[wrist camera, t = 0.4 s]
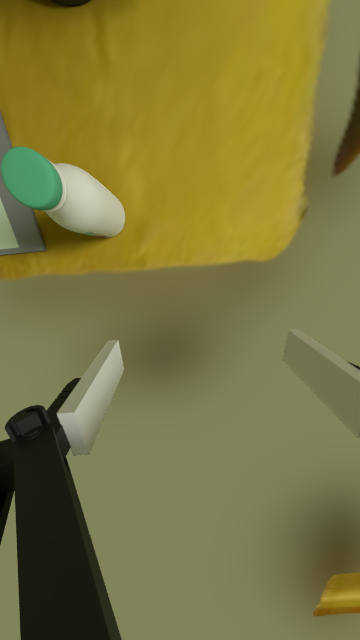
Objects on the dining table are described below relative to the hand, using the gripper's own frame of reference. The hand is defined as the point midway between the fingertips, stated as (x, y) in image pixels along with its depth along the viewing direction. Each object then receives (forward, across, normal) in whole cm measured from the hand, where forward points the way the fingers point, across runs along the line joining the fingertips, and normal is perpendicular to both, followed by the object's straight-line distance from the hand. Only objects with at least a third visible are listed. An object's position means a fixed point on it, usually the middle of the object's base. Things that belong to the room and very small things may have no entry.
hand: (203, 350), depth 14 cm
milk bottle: (+28, -14, +14) cm, 34 cm away
